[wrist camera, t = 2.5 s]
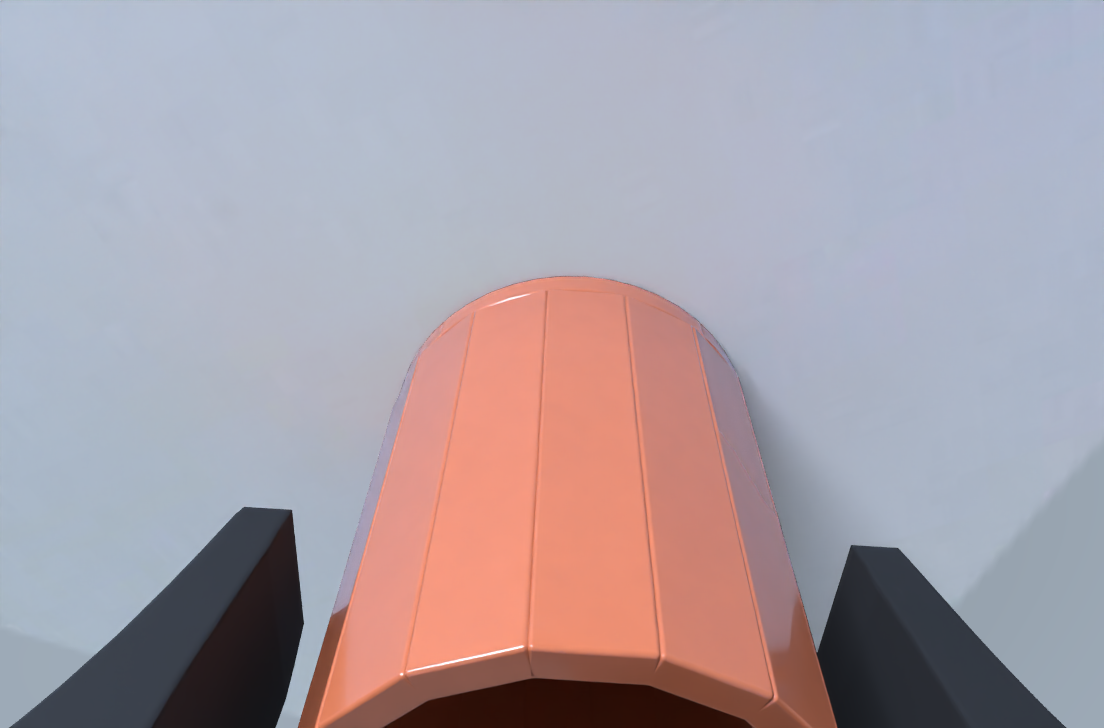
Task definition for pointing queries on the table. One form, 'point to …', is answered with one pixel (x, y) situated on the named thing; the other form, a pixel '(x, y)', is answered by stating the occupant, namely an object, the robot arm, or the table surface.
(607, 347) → the cup
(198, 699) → the robot arm
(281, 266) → the table surface
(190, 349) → the table surface
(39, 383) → the table surface
